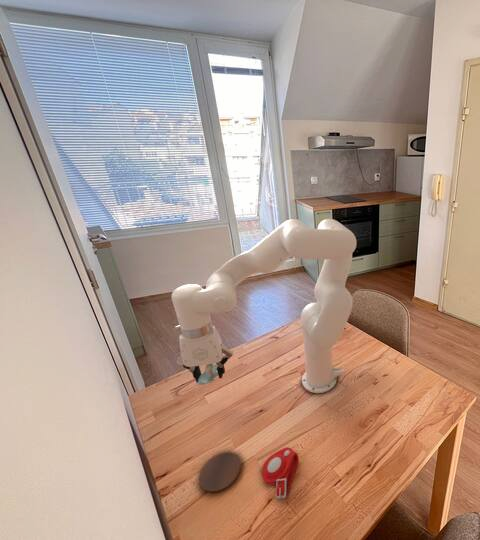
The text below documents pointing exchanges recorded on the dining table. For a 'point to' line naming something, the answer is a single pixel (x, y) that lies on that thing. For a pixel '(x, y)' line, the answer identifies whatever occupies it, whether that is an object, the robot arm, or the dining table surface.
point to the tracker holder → (281, 470)
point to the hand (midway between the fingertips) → (210, 376)
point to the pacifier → (208, 374)
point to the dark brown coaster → (220, 472)
